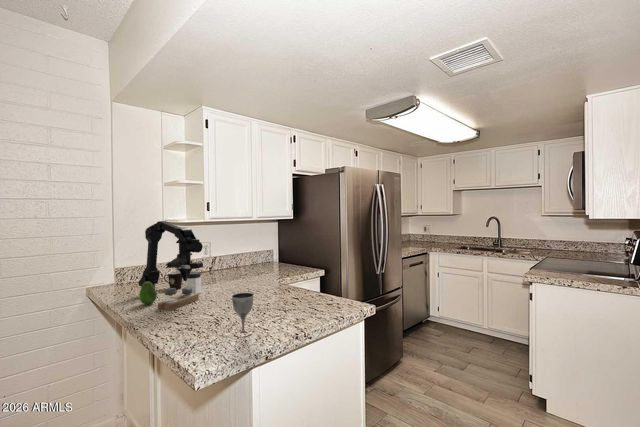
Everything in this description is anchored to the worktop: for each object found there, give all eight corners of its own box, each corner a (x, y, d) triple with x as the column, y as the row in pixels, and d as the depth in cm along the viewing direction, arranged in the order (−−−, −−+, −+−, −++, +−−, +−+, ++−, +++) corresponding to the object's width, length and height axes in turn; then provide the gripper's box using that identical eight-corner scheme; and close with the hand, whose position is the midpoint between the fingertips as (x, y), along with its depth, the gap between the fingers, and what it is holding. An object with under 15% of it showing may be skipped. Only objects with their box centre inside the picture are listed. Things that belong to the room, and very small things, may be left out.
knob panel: (157, 309, 150) (157, 302, 150) (186, 298, 170) (186, 292, 170) (171, 310, 148) (171, 303, 148) (198, 299, 167) (198, 293, 167)
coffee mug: (185, 288, 194) (185, 272, 194) (173, 291, 187) (173, 274, 187) (175, 285, 200) (175, 270, 200) (162, 288, 193) (162, 272, 193)
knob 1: (162, 296, 151) (162, 290, 151) (170, 294, 156) (170, 287, 156) (170, 297, 150) (170, 290, 150) (178, 294, 155) (178, 288, 155)
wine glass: (234, 330, 122) (234, 292, 122) (254, 329, 123) (254, 292, 123) (230, 338, 114) (230, 298, 114) (252, 337, 115) (251, 297, 115)
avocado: (136, 305, 157) (136, 282, 157) (150, 301, 164) (150, 279, 164) (145, 307, 154) (145, 283, 154) (160, 303, 160) (160, 280, 160)
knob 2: (180, 295, 163) (180, 289, 163) (186, 293, 168) (186, 287, 168) (187, 296, 162) (187, 290, 162) (194, 293, 166) (194, 287, 166)
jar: (203, 293, 180) (202, 273, 180) (188, 295, 175) (188, 274, 175) (198, 290, 187) (198, 270, 187) (184, 292, 182) (183, 272, 182)
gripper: (158, 253, 158) (159, 283, 158) (189, 254, 153) (189, 285, 153) (174, 250, 169) (174, 279, 168) (203, 251, 164) (203, 280, 164)
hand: (185, 281), depth 163 cm, fingers closed
